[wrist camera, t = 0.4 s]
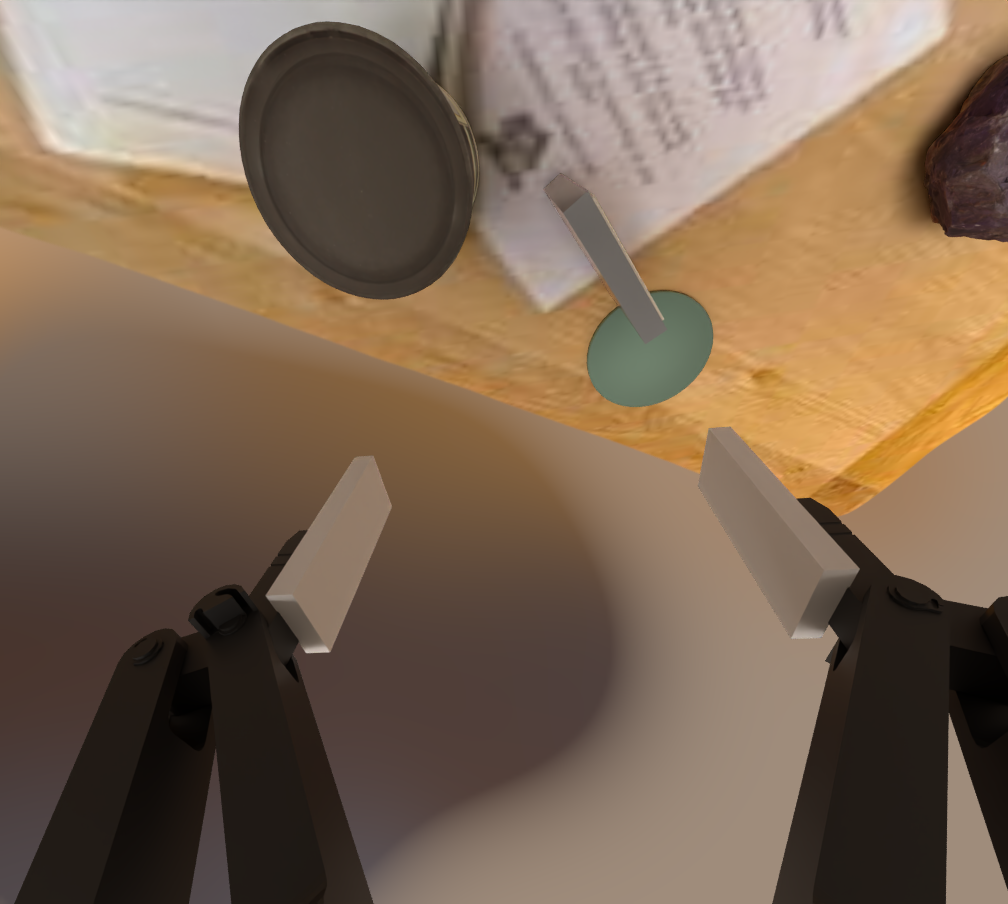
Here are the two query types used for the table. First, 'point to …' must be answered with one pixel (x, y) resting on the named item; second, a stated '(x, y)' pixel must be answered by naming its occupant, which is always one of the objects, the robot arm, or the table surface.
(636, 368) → the coaster
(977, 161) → the rock
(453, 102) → the coffee can
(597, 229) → the slate tile
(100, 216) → the table surface
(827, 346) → the table surface
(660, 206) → the table surface
